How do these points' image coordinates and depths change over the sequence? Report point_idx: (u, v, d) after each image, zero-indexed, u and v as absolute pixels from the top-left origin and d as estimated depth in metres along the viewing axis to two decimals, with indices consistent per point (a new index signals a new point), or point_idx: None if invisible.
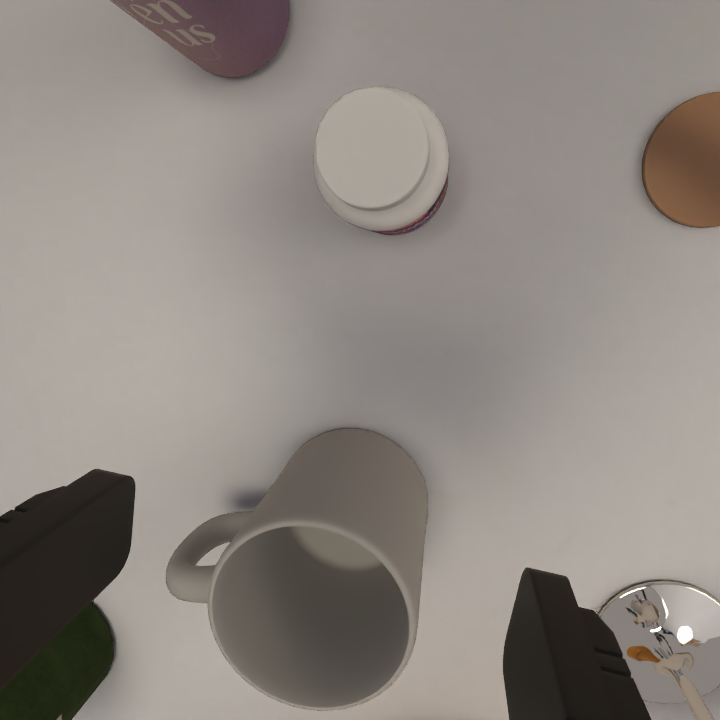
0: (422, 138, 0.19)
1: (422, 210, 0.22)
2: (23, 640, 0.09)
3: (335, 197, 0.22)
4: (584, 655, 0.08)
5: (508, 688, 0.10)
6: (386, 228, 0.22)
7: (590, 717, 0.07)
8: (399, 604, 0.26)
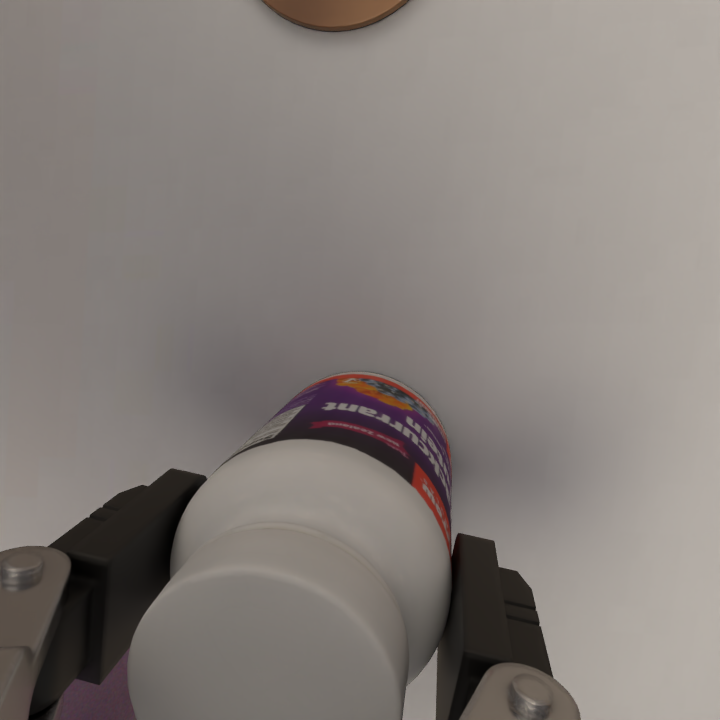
0: (233, 582, 0.07)
1: (411, 510, 0.10)
2: (123, 630, 0.09)
3: None
4: (493, 603, 0.09)
5: (439, 643, 0.11)
6: (447, 585, 0.10)
7: (486, 652, 0.08)
8: None
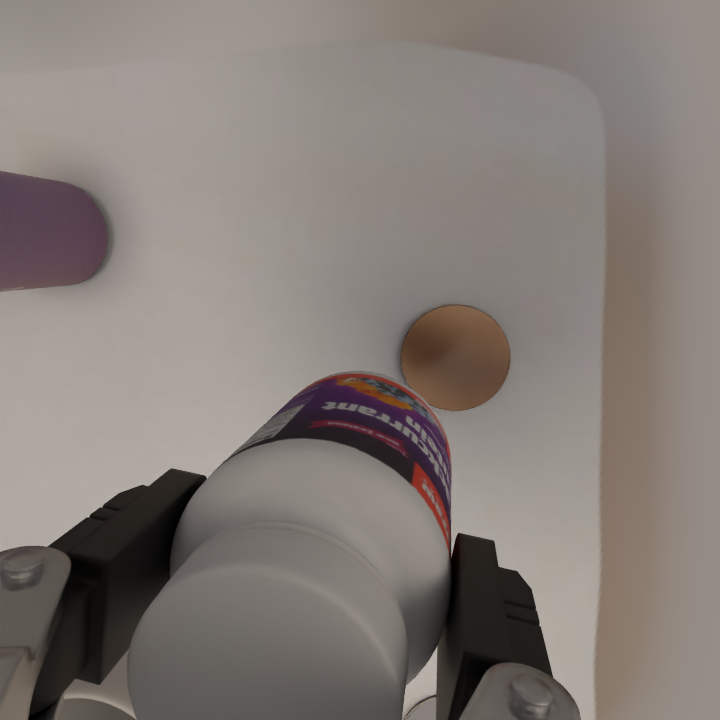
0: (233, 581, 0.07)
1: (411, 509, 0.10)
2: (123, 629, 0.09)
3: None
4: (493, 604, 0.09)
5: (439, 643, 0.11)
6: (447, 584, 0.10)
7: (485, 652, 0.08)
8: None
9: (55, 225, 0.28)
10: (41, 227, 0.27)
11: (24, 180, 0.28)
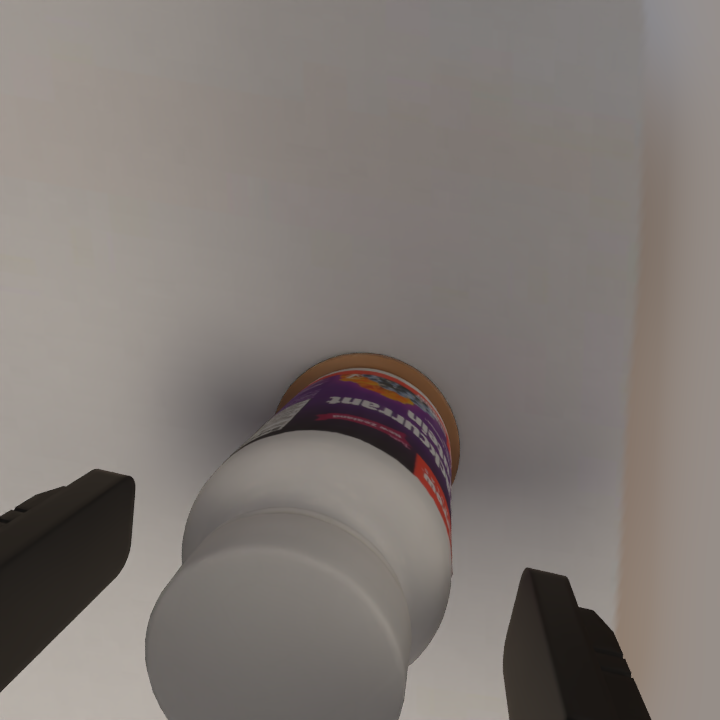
0: (246, 561, 0.08)
1: (413, 497, 0.10)
2: (23, 640, 0.09)
3: None
4: (584, 655, 0.08)
5: (508, 688, 0.10)
6: (448, 569, 0.10)
7: (590, 717, 0.07)
8: None
9: None
10: None
11: None
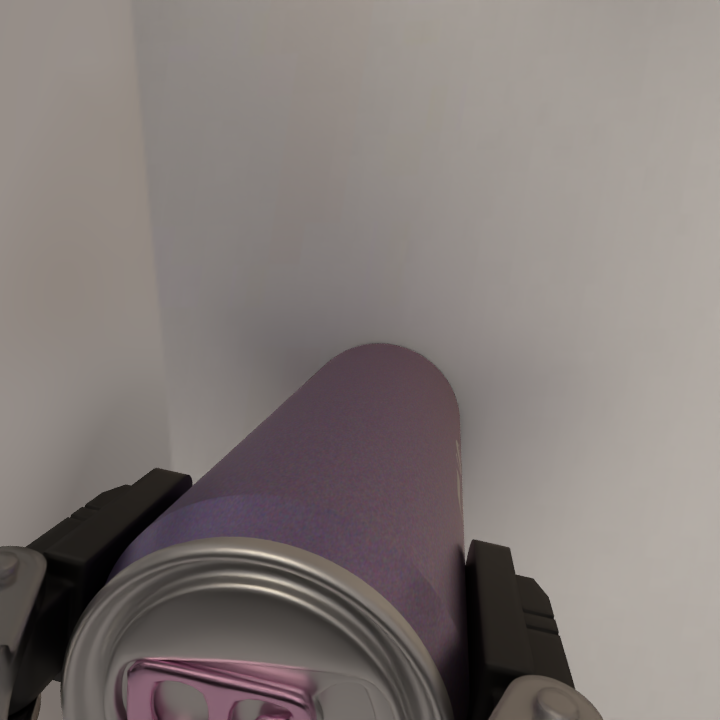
0: None
1: None
2: None
3: None
4: (512, 613, 0.09)
5: None
6: None
7: (507, 664, 0.08)
8: None
9: (354, 368, 0.17)
10: (353, 375, 0.16)
11: None
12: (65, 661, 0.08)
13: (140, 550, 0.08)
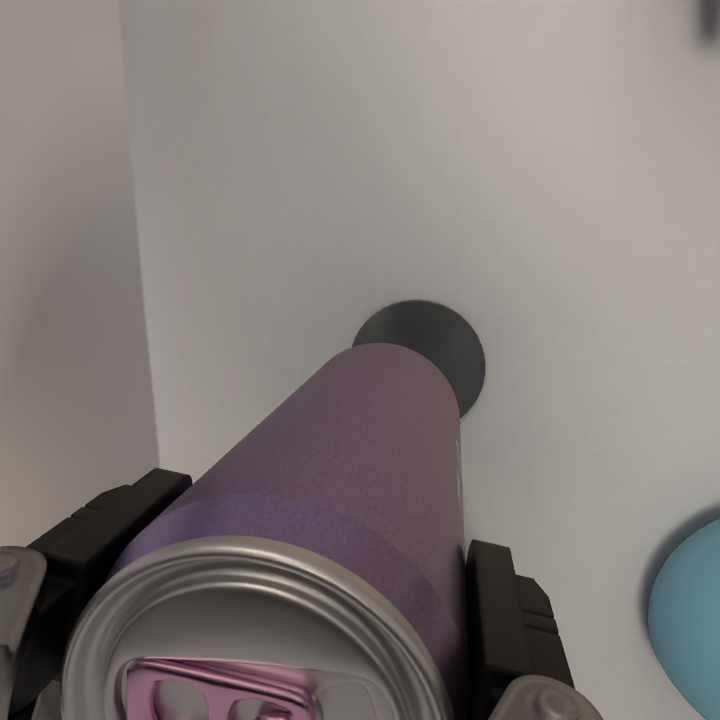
0: None
1: None
2: None
3: None
4: (512, 613, 0.09)
5: None
6: None
7: (507, 663, 0.08)
8: None
9: (354, 366, 0.17)
10: (352, 374, 0.16)
11: None
12: (64, 660, 0.08)
13: (140, 549, 0.08)
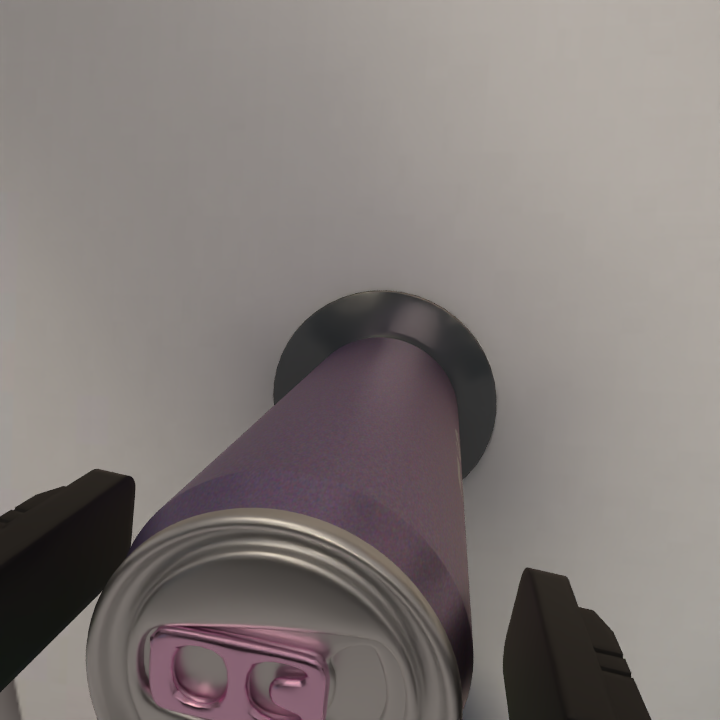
0: None
1: None
2: (23, 640, 0.09)
3: None
4: (584, 655, 0.08)
5: (508, 688, 0.10)
6: None
7: (590, 717, 0.07)
8: None
9: (357, 359, 0.17)
10: (355, 365, 0.16)
11: None
12: (91, 628, 0.08)
13: (161, 523, 0.08)
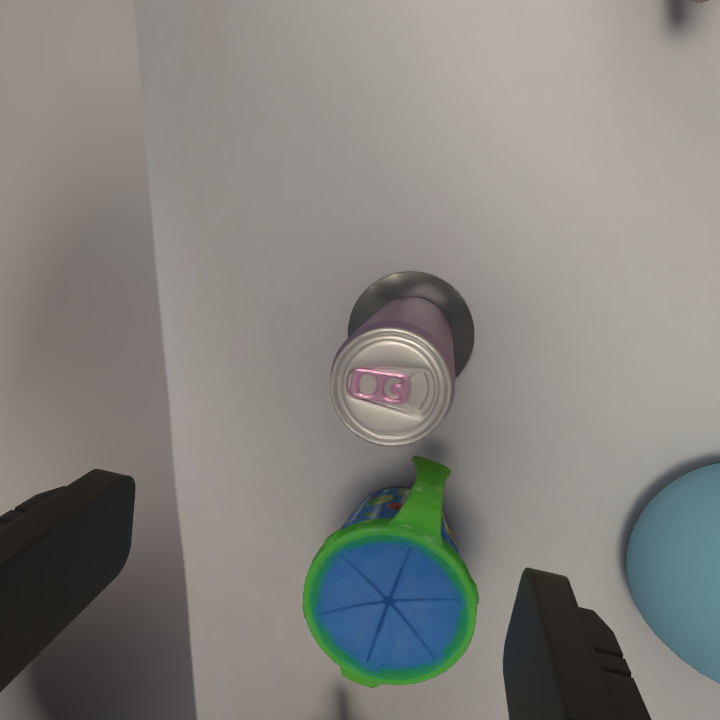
0: None
1: None
2: (23, 640, 0.09)
3: None
4: (584, 655, 0.08)
5: (508, 688, 0.10)
6: None
7: (590, 717, 0.07)
8: None
9: (402, 303, 0.35)
10: (402, 304, 0.34)
11: None
12: (333, 369, 0.26)
13: (354, 337, 0.26)
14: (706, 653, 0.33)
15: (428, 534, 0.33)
